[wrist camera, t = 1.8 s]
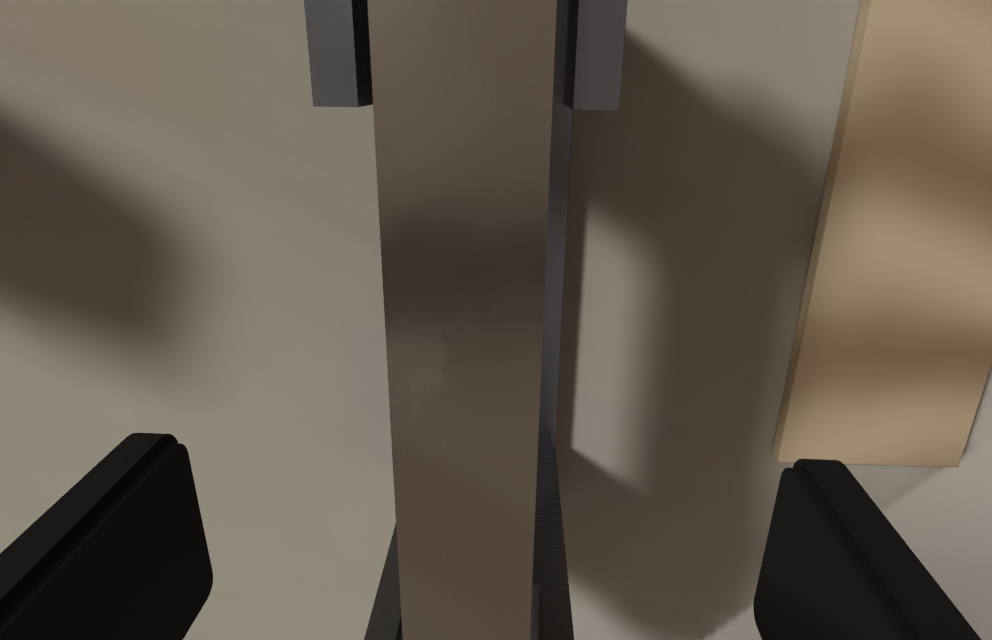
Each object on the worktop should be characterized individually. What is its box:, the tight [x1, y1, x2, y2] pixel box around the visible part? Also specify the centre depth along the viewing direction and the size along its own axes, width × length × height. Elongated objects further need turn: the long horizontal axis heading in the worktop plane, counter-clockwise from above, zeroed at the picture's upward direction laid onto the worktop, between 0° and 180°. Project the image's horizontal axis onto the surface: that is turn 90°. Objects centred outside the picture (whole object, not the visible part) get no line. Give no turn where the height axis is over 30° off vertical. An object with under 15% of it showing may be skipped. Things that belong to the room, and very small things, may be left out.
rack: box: [304, 0, 627, 640], centre depth 18 cm, size 19×5×10 cm, turn 179°
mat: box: [772, 0, 992, 467], centre depth 21 cm, size 22×7×1 cm, turn 179°
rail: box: [367, 0, 557, 640], centre depth 14 cm, size 22×3×3 cm, turn 179°
